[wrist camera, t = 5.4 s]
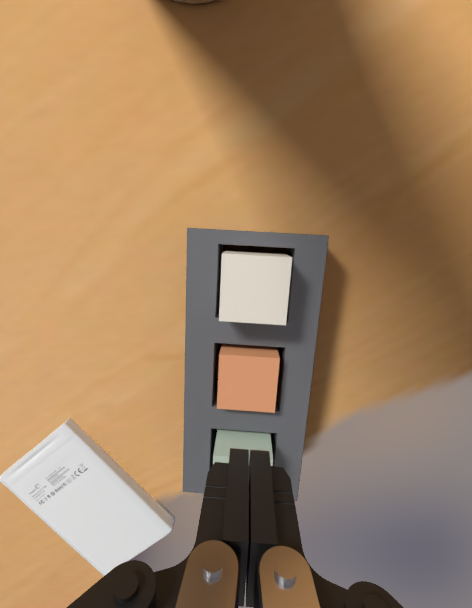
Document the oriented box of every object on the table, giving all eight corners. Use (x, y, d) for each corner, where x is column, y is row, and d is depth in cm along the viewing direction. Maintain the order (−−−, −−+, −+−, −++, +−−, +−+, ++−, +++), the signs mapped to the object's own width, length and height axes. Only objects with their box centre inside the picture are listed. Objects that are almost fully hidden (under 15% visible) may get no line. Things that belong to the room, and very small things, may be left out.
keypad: (196, 228, 20) (187, 227, 17) (317, 235, 20) (328, 235, 17) (190, 460, 24) (182, 491, 21) (291, 468, 24) (296, 500, 21)
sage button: (218, 421, 21) (213, 455, 18) (269, 425, 21) (273, 460, 18) (216, 464, 22) (210, 504, 19) (265, 468, 22) (268, 509, 19)
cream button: (226, 250, 19) (221, 253, 15) (284, 253, 19) (292, 257, 15) (224, 306, 20) (218, 321, 16) (279, 310, 19) (285, 325, 16)
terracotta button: (223, 335, 21) (219, 354, 18) (275, 339, 21) (279, 358, 18) (221, 382, 22) (216, 408, 19) (271, 385, 22) (274, 412, 19)
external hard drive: (110, 559, 28) (9, 466, 26) (176, 514, 26) (74, 413, 24) (102, 578, 26) (-7, 481, 24) (172, 532, 25) (62, 425, 23)
